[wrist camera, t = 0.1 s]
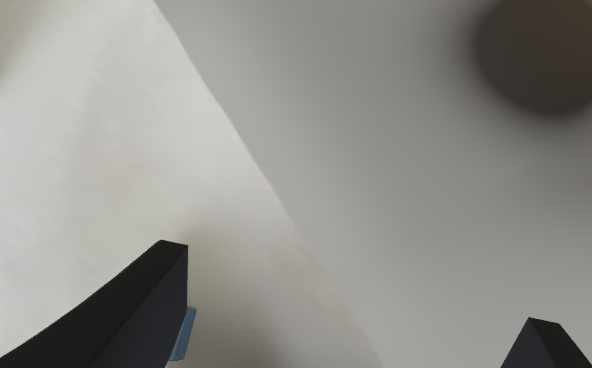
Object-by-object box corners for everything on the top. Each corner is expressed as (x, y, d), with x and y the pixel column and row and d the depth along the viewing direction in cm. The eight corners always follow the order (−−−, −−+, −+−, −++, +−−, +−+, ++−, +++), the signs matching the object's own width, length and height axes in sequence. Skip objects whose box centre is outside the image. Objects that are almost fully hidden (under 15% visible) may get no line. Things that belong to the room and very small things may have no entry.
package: (183, 359, 41) (173, 361, 37) (124, 345, 41) (109, 346, 38) (196, 309, 42) (188, 307, 39) (138, 296, 42) (125, 293, 39)
